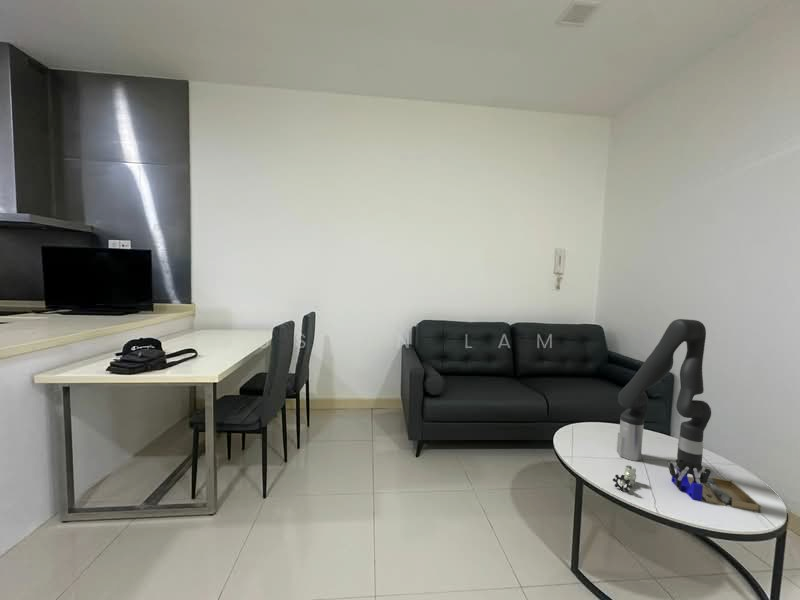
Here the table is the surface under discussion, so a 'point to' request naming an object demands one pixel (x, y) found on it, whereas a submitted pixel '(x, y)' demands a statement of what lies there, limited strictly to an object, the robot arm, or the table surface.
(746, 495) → the hinge base
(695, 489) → the blue curved bracket
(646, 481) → the table surface
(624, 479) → the valve
